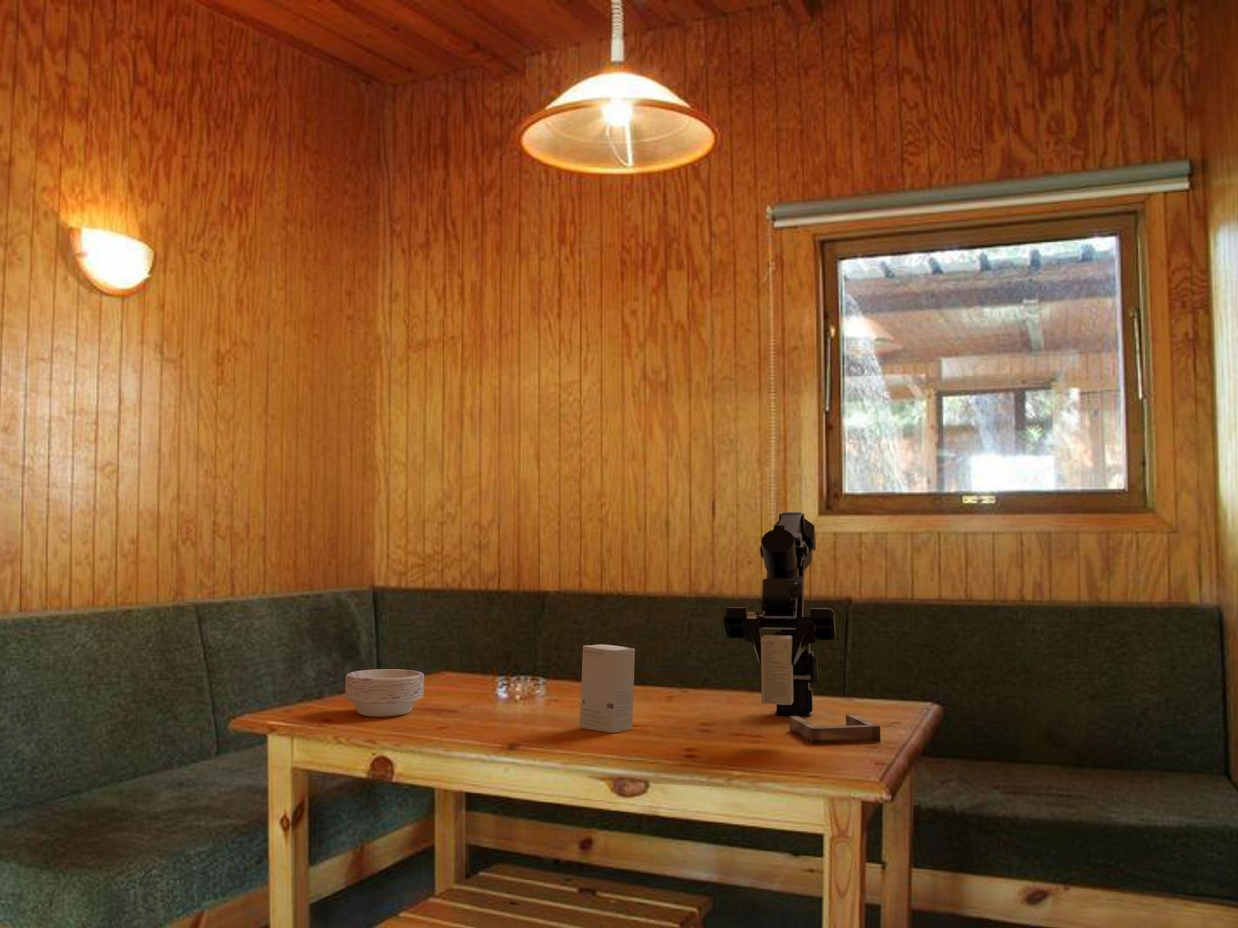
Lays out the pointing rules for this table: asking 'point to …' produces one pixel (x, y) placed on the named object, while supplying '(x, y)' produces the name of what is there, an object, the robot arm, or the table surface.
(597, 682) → the skincare box
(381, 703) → the paper bowls
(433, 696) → the table surface
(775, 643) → the box
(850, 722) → the walnut u rest
